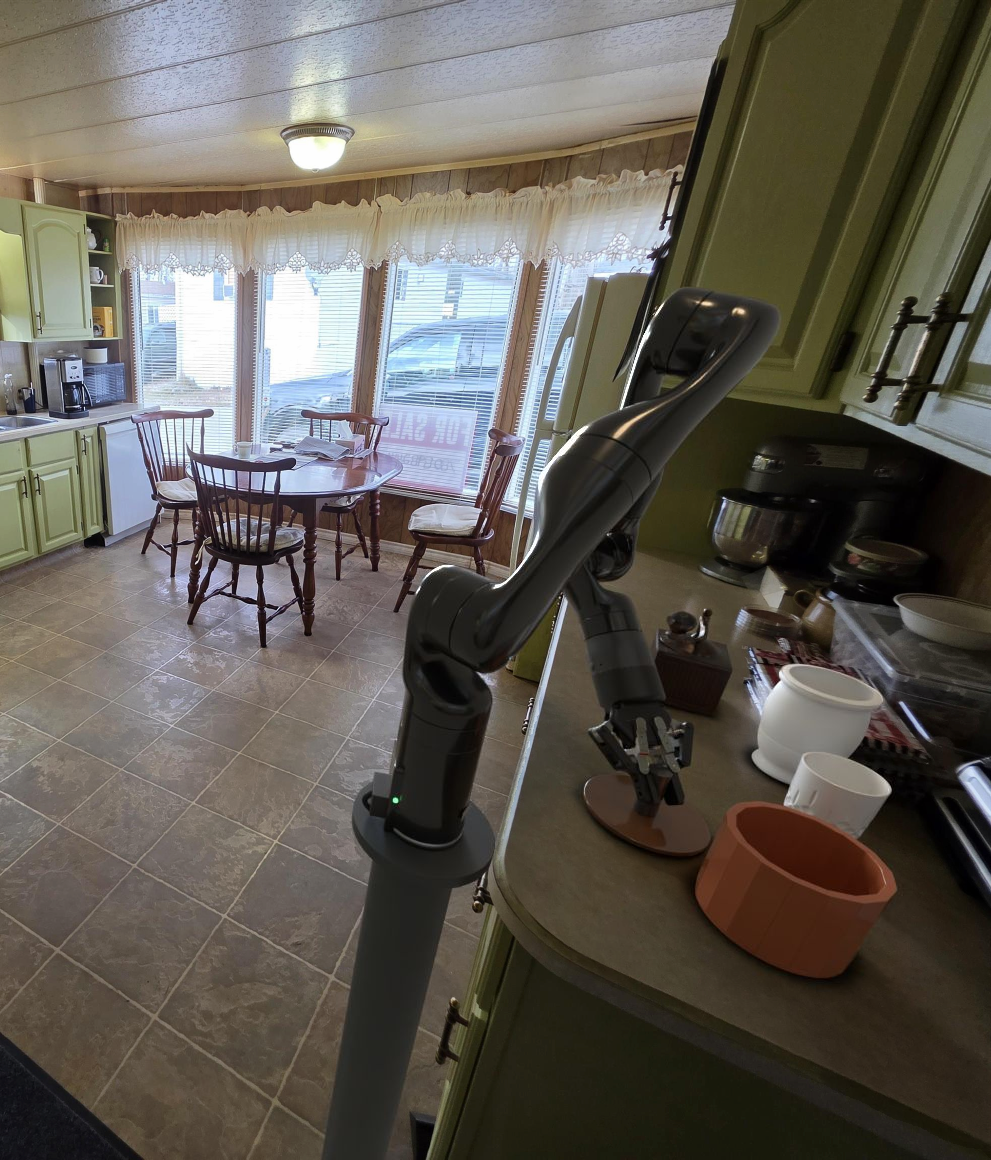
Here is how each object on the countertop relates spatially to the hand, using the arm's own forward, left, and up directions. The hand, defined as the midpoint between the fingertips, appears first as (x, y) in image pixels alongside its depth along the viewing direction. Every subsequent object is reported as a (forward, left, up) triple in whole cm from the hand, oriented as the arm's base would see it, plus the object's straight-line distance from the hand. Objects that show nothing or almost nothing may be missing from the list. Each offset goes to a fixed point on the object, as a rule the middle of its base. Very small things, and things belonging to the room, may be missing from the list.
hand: (663, 805), depth 76 cm
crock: (+7, -11, -4) cm, 14 cm away
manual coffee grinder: (+14, +35, -4) cm, 38 cm away
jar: (+23, +19, -4) cm, 30 cm away
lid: (-1, +2, -3) cm, 4 cm away
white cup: (+19, +5, -4) cm, 20 cm away
